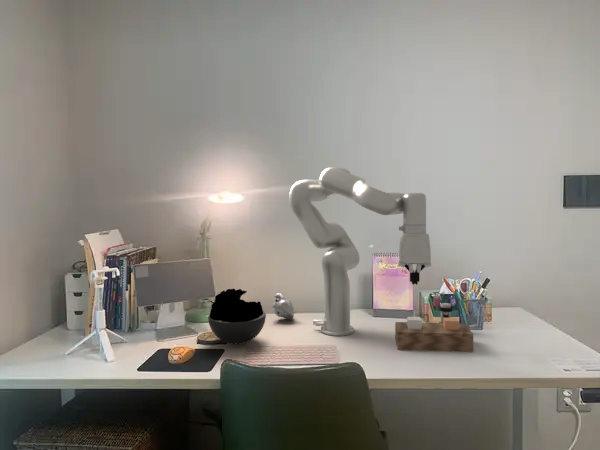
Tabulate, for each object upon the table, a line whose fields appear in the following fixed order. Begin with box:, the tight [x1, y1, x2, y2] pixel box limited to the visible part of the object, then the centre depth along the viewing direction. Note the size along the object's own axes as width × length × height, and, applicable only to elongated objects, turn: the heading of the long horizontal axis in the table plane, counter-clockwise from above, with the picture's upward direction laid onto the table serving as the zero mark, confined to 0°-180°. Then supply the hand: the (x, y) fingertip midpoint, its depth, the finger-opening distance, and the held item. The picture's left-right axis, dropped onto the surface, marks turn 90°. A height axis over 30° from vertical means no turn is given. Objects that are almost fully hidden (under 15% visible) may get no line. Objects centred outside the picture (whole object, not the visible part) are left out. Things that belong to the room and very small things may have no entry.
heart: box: [271, 292, 295, 321], centre depth 191 cm, size 10×10×12 cm
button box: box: [394, 321, 474, 353], centre depth 159 cm, size 24×12×6 cm, turn 82°
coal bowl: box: [207, 288, 267, 345], centre depth 163 cm, size 20×20×19 cm
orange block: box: [443, 317, 460, 330], centre depth 158 cm, size 4×4×6 cm
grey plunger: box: [406, 316, 423, 330], centre depth 159 cm, size 4×4×6 cm
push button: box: [438, 302, 454, 323], centre depth 175 cm, size 7×5×10 cm
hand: (414, 283), depth 158 cm, fingers closed
